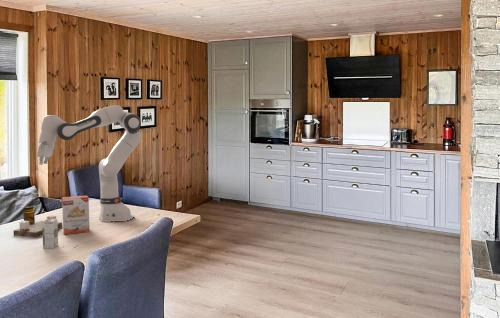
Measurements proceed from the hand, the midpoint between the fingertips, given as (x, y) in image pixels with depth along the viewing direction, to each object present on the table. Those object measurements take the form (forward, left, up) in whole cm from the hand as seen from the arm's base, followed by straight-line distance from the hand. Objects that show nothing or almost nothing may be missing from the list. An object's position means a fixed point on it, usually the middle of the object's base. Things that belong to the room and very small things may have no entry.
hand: (43, 164), depth 262 cm
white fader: (+1, +17, -35) cm, 39 cm away
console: (-3, +10, -38) cm, 40 cm away
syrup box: (-29, +33, -39) cm, 59 cm away
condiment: (+12, +2, -39) cm, 40 cm away
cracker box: (-25, +6, -39) cm, 47 cm away
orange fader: (-6, +3, -35) cm, 36 cm away
